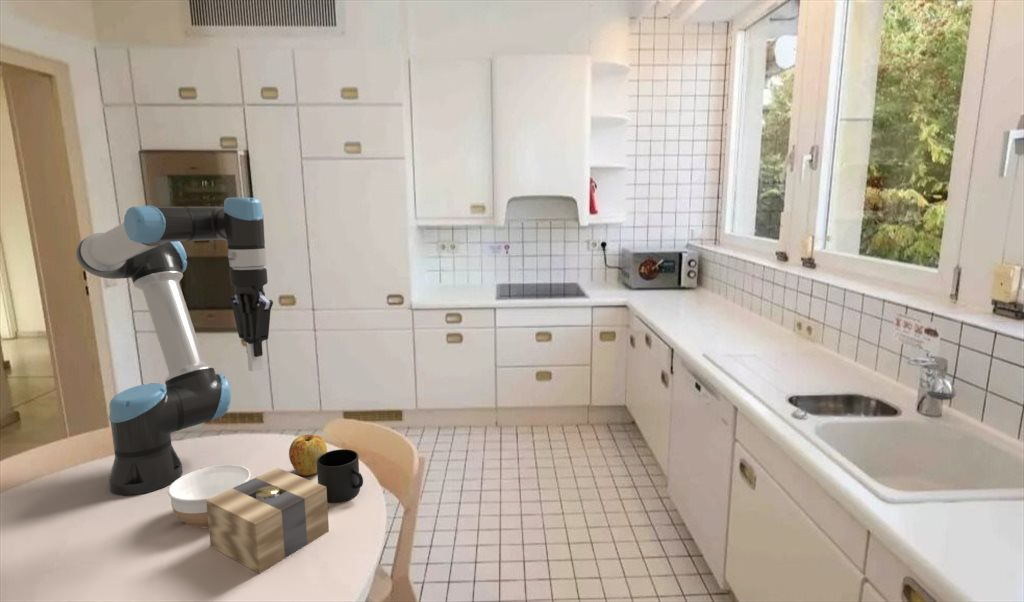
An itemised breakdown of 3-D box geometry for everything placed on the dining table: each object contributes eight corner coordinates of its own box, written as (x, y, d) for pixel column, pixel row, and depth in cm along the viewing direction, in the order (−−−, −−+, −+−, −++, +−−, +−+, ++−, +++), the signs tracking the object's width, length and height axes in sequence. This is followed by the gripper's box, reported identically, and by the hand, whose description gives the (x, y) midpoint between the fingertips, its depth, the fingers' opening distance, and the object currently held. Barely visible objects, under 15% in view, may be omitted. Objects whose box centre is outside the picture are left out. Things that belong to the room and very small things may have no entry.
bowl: (269, 504, 124) (266, 472, 122) (204, 543, 109) (200, 507, 108) (221, 489, 130) (218, 459, 129) (154, 524, 116) (150, 489, 115)
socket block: (210, 546, 108) (206, 500, 107) (280, 509, 122) (277, 467, 120) (259, 573, 100) (255, 524, 99) (328, 530, 114) (326, 486, 112)
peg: (254, 533, 110) (250, 492, 109) (273, 523, 114) (270, 483, 112) (267, 540, 108) (264, 498, 106) (286, 529, 111) (284, 489, 110)
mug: (349, 510, 122) (347, 472, 120) (309, 497, 127) (307, 461, 125) (376, 490, 130) (375, 455, 129) (338, 480, 135) (336, 446, 134)
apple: (314, 461, 145) (312, 425, 144) (335, 470, 140) (333, 434, 138) (283, 474, 138) (281, 437, 136) (304, 484, 133) (301, 446, 131)
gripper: (214, 267, 121) (223, 369, 125) (250, 270, 114) (258, 378, 118) (246, 264, 127) (253, 361, 131) (281, 267, 120) (288, 369, 124)
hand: (255, 369), depth 124 cm, fingers closed
